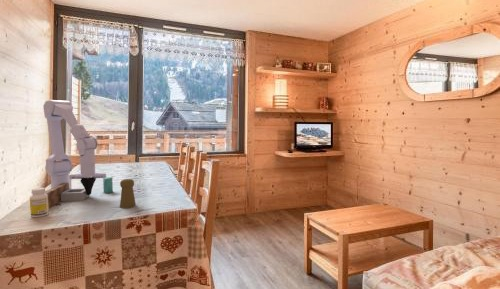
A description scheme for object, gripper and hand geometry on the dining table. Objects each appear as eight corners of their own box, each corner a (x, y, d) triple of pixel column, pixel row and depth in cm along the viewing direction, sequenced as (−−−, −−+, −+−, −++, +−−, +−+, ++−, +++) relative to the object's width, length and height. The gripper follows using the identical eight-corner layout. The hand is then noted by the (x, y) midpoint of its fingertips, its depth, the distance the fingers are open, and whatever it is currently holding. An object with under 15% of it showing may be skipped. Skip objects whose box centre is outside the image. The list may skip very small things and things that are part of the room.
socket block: (68, 196, 134) (68, 189, 134) (89, 195, 136) (88, 188, 135) (60, 201, 126) (60, 193, 125) (82, 200, 127) (82, 192, 127)
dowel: (104, 191, 143) (104, 177, 143) (113, 191, 144) (113, 177, 144) (102, 193, 139) (102, 179, 139) (111, 193, 140) (111, 178, 140)
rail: (63, 195, 135) (62, 182, 135) (69, 195, 136) (68, 182, 135) (39, 209, 114) (39, 194, 113) (47, 209, 114) (46, 193, 114)
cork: (130, 208, 115) (129, 181, 114) (116, 207, 116) (115, 180, 115) (138, 204, 121) (138, 178, 120) (125, 203, 122) (125, 177, 121)
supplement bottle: (36, 213, 109) (35, 187, 108) (52, 212, 109) (50, 187, 109) (27, 217, 104) (25, 190, 103) (43, 217, 104) (41, 190, 103)
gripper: (66, 166, 125) (67, 197, 126) (102, 165, 128) (103, 195, 129) (72, 164, 132) (73, 193, 133) (107, 163, 135) (108, 192, 136)
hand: (88, 194), depth 132 cm, fingers closed
